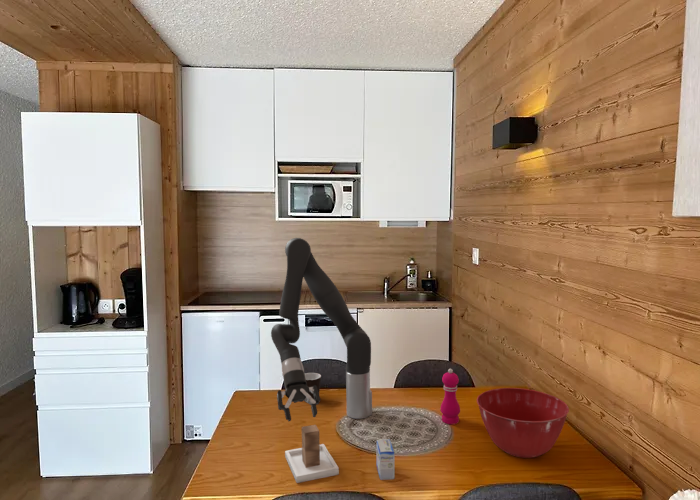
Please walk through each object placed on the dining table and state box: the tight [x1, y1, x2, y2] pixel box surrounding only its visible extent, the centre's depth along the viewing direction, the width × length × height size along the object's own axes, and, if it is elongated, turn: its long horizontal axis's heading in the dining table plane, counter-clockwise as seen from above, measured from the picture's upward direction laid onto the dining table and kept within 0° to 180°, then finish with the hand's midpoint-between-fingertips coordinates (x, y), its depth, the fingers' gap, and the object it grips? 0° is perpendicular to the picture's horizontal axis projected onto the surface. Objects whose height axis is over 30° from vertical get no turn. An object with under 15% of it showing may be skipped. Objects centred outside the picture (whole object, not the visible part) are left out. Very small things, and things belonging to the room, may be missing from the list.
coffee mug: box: [304, 372, 322, 400], centre depth 203 cm, size 12×9×10 cm
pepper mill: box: [440, 368, 461, 425], centre depth 179 cm, size 7×7×20 cm
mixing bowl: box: [476, 387, 570, 459], centre depth 158 cm, size 28×28×15 cm
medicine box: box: [375, 438, 396, 481], centre depth 145 cm, size 8×4×9 cm, turn 5°
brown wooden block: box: [301, 424, 321, 468], centre depth 149 cm, size 4×4×11 cm
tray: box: [284, 443, 340, 484], centre depth 150 cm, size 13×16×2 cm
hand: (302, 418), depth 159 cm, fingers open, 8 cm apart
